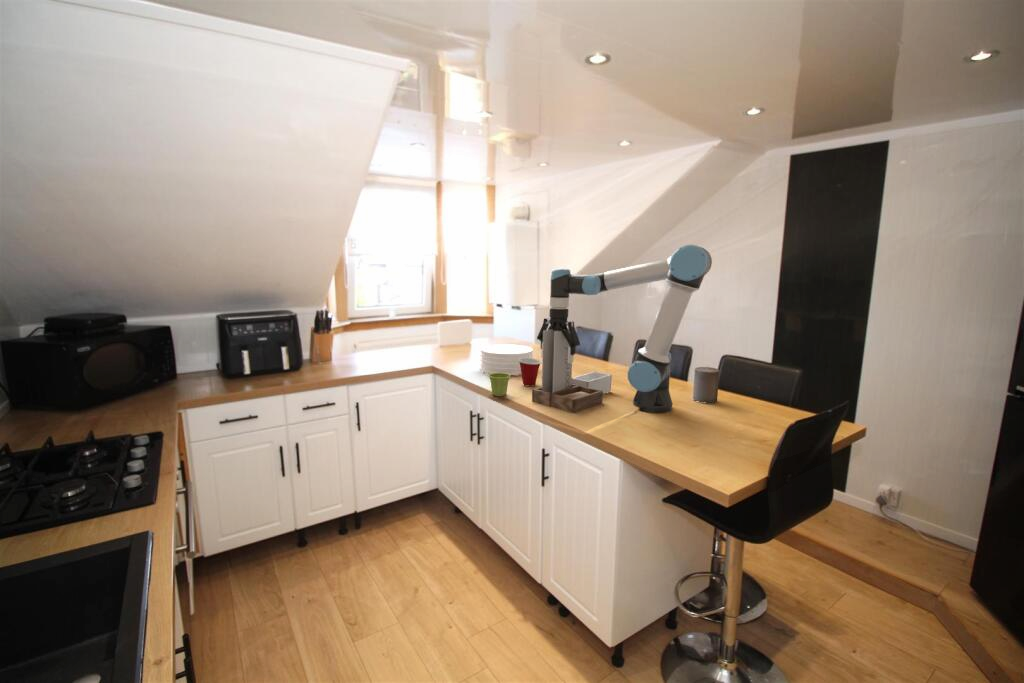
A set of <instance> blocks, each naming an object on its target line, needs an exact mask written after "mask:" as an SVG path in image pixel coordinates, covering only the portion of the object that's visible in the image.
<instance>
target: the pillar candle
mask: <svg viewBox="0 0 1024 683" xmlns="http://www.w3.org/2000/svg"><path fill="white" fill-rule="evenodd" d="M719 383H720V369H718V368H715V367H709V366H708V365H707V366H698V367H695V368H694V378H693V391H692V392H693V393H692V400H693V399H694V400H696V401H699V402H706V403H713V404H716V403H715V402H717V403H718V396H719V394H718V393H719V385H720V384H719ZM694 400H693V401H694ZM696 401H695V402H696ZM699 402H698V403H699Z"/></svg>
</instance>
